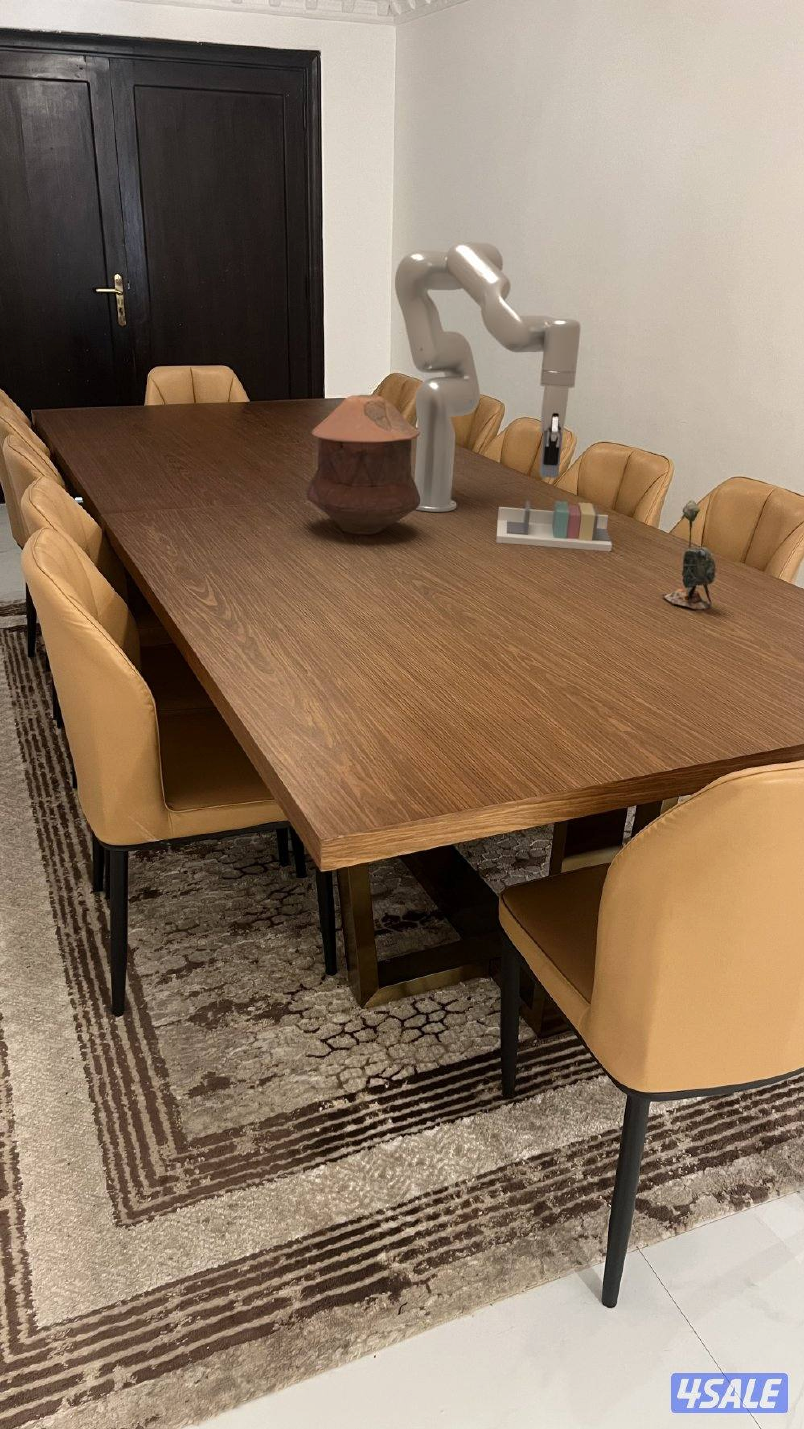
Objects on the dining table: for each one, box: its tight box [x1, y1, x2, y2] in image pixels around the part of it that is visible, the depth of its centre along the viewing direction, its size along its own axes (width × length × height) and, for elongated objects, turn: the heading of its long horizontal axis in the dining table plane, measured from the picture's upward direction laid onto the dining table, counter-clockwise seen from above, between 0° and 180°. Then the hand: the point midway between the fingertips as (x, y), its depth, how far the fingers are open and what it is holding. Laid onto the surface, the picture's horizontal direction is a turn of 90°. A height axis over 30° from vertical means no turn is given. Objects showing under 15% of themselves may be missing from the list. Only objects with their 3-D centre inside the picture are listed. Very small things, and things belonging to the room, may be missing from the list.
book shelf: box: [496, 500, 613, 552], centre depth 236 cm, size 26×16×8 cm, turn 84°
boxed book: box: [539, 430, 564, 479], centre depth 230 cm, size 4×6×10 cm, turn 174°
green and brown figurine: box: [662, 500, 717, 611], centre depth 193 cm, size 8×11×20 cm
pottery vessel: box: [305, 394, 420, 535], centre depth 228 cm, size 26×26×30 cm
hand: (549, 461), depth 230 cm, fingers closed on boxed book, 6 cm apart
